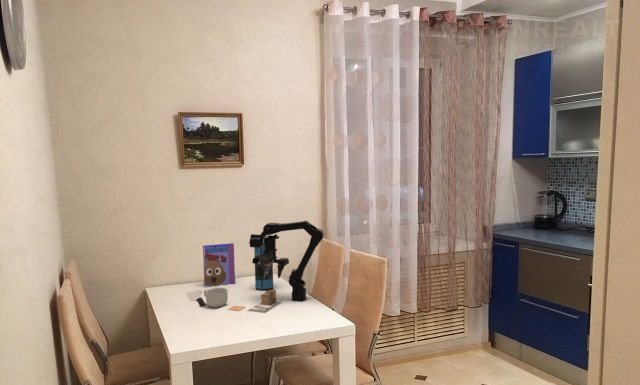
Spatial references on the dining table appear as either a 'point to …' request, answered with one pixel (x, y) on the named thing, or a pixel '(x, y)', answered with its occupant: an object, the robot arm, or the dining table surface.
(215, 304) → the teacup
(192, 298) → the kitchen cleaver
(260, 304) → the mat
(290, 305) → the dining table surface
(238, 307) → the tile
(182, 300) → the dining table surface
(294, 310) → the dining table surface
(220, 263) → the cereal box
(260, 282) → the advertising column
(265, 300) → the turner
